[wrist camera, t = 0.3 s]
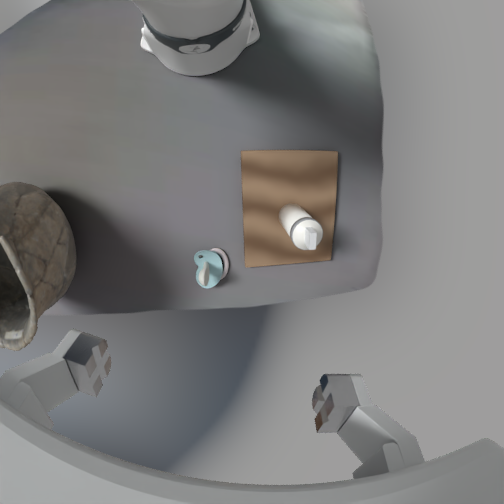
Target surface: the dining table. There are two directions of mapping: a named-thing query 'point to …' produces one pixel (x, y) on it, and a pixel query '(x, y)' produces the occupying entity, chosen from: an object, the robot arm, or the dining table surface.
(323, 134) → the dining table surface
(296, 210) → the white bar-topped cylinder
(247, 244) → the board
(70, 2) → the dining table surface
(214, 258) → the pacifier
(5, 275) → the pot
